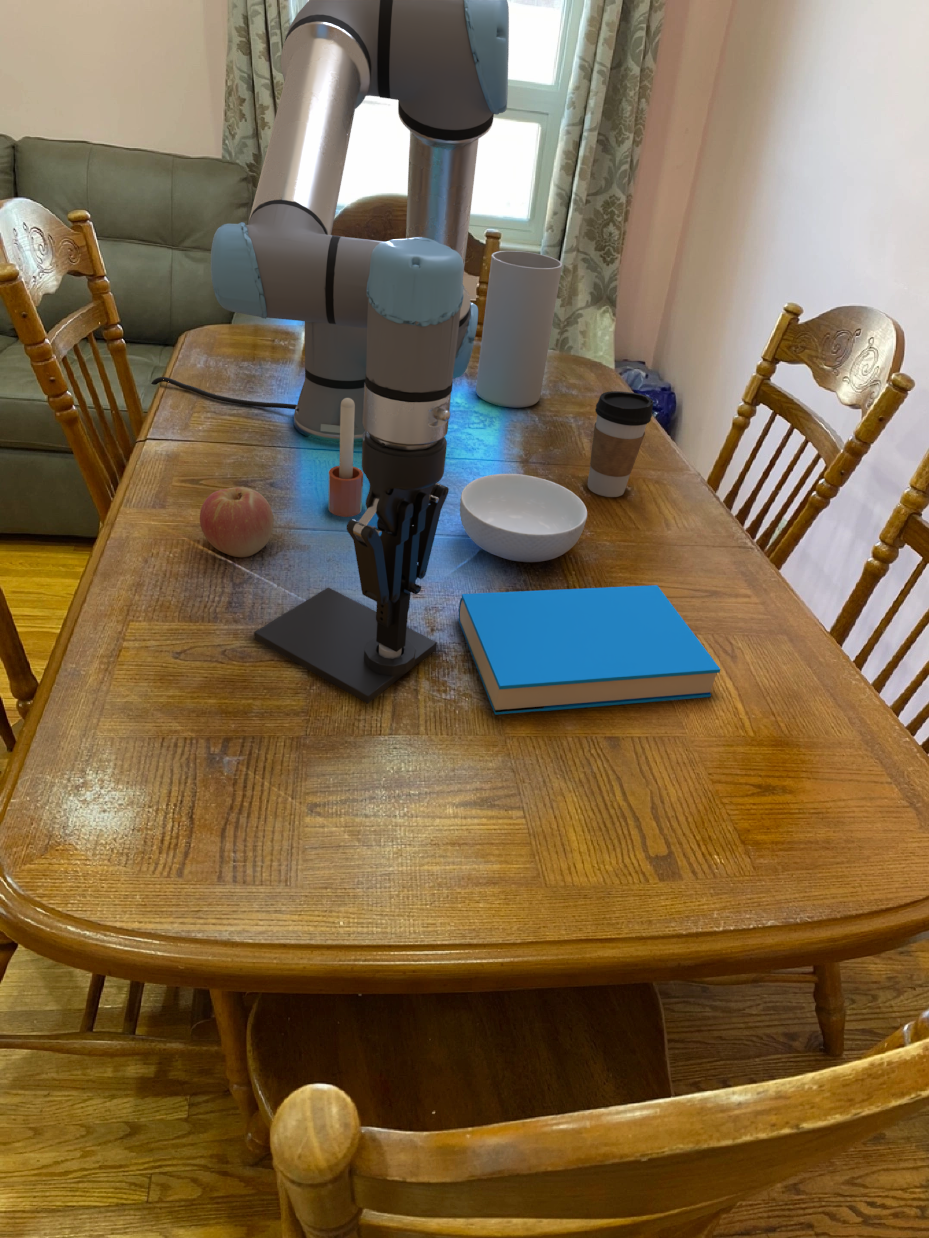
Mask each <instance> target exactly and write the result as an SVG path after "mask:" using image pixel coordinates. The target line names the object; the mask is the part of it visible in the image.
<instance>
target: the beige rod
mask: <svg viewBox="0 0 929 1238" xmlns="http://www.w3.org/2000/svg"><path fill="white" fill-rule="evenodd" d="M354 414H355V403H354V401H353V400H352V399H350V398H345V399H343V400H342V402H341V416H340V443H339V465H338V466H339V478H342V479H352V477H353V467H354Z"/></svg>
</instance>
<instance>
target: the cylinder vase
mask: <svg viewBox="0 0 929 1238" xmlns="http://www.w3.org/2000/svg"><path fill="white" fill-rule="evenodd" d="M490 259H491V260H490V268H489V274H488V275H489V276H488V284H487V292H486V299H485V300H486V301H485V308H484V309H485V310H484V318H483V324H482V333H481V342H480V350H479V357H478V358H479V359H478V368H477V377H476V385H475V392H476V395H478V397H479V398H480V399H482V400H483V401H485V402H487V403H489V404H491V405H495V406H499V407H505V408H514V409H516V408H517V409H519V408H520V409H521V408H528V407H531V406H534V405H536V404H537V403H538V402H539V401H540V399H541V394H542V388H543V383H544V376H545V371H546V364H547V359H548V353H549V347H550V340H551V335H552V330H553V329H552V328H553V323H554V316H555V312H556V311H555V310H556V304H557V299H558V292H559V288H560V281H561V275H562V269H563V262H561V260H559V259H556V258H554V257H551V256H549V255H544V254H541V253H535V252H529V251H521V250H520V251H519V250H500V251H496V252H493V253H491V257H490Z"/></svg>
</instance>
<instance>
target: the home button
mask: <svg viewBox="0 0 929 1238" xmlns="http://www.w3.org/2000/svg"><path fill="white" fill-rule="evenodd" d="M401 652H402V648H401V649H400V650H399V651H397V652H395V651H394V650H392V649H390V648H388V647H386V646H384V645H382V644H380V643H379V655H380V656H382V657H384V658H390V659H394V658H398V657H400V656H401Z"/></svg>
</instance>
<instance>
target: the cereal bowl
mask: <svg viewBox="0 0 929 1238" xmlns="http://www.w3.org/2000/svg"><path fill="white" fill-rule="evenodd" d="M459 517H460V522H461V525H462V527H463V530H464V533H466V534H467V537H469V538H470V540H471V541H472V542H473V543H474V544H476V546H478V547H479V548H481V549H482V550H484V551H485V552H488V553H489V554H491V555H494V556H496V557H499V558H502V559H506V560H509V561H512V562H519V563H520V562H521V563H522V562H523V563H539V562H545V561H549V560H553V559H554V560H555V559H556V558H558V557H561V556H562V555H565V554H566V553H568V552H569V551H570V550H571V549H572V548H573V547H575V545H576V544H577V543H578V541H579V540H580V537H581V535H582V533H583V531H584V528H585V526H586V522H587V519H588V511H587V507H586V505H585V503H584V502H583V500H582V499H581V498H580V497H579V496H578V495H577V494H575V492H573V491H571V490H570V489H568V488H567V487H565V486H563V485H561V484H558V483H557V482H554V481H551V480H548V479H545V478H541V477H537V476H532V475H526V474H519V473H496V474H488V475H485V476H481V477H478V478H476V479H474V480H472V481H470V482H469V483H468V484H467V485H465V486H464V488H463V489H462V491H461V495H460V498H459Z"/></svg>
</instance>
